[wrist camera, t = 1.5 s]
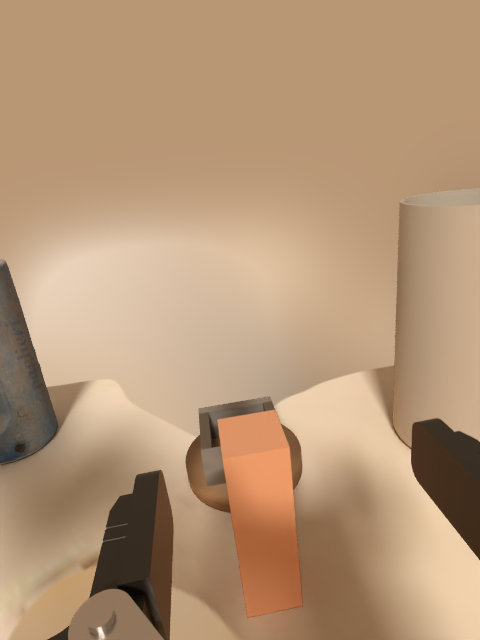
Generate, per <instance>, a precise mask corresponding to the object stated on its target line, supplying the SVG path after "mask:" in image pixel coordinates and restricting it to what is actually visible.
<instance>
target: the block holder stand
mask: <svg viewBox="0 0 480 640" xmlns="http://www.w3.org/2000/svg"><path fill="white" fill-rule="evenodd" d="M270 410H275V408H274V406H273V403H272V401H271V398H270V397H264V398H258V399H252V400H246V401H240V402H235V403H228V404H223V405H217V406H211V407H205V408H199V423H200V435H199V436H198V437H197V438H196V439H195V440H194V441H193V443H192V444H191V446H190V448H189V450H188V452H187V456H186V468H187V473H188V478H189V483H190V486H191V489H192V491H193V493H194V494H195V495H196V496H197V498H198V499H200V500H201V501H202V502H203V503H205V504H206V505H208V506H210V507H212V508H214V509H217V510H220V511H225V512H231V510H230V503H229V497H228V491H227V485H226V478H225V472H224V466H223V459H222V452H221V444H220V437H219V429H218V422H217V420H218V419H224V418H229V417H235V416H241V415H247V414H253V413H258V412H264V411H270ZM281 426H282V429H283V431H284V434H285V437H286V439H287V442H288V444H289V447H290V459H291V471H292V483H293V490H294V488H295V487H296V485H297V484H298V482H299V479H300V477H301V473H302V460H301V448H300V444H299V441H298V439H297V437H296V436H295V435H294V433H293V432H292V431H291V430H290V429H288V428H287V427H285V426H284V425H282V424H281Z"/></svg>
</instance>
